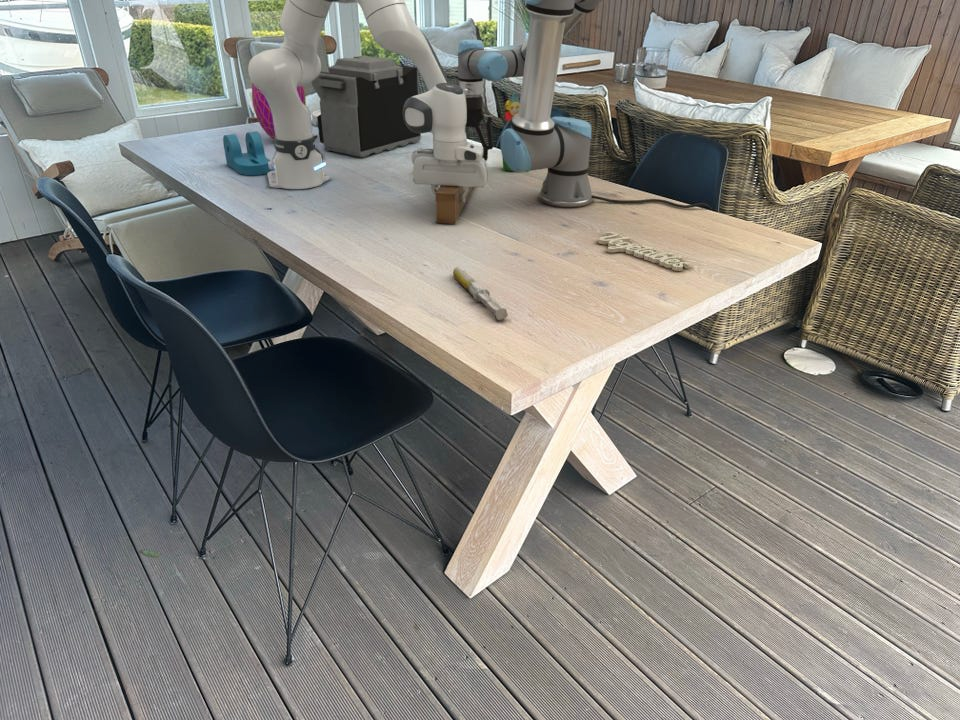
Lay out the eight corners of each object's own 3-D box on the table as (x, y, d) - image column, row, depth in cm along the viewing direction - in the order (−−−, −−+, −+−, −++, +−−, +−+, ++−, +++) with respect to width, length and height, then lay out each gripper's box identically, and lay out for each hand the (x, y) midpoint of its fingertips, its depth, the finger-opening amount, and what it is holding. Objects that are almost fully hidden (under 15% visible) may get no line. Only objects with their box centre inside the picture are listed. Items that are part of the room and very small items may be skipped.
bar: (465, 171, 230) (465, 146, 226) (480, 171, 229) (481, 146, 225) (436, 222, 184) (435, 192, 180) (455, 223, 183) (455, 193, 179)
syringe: (449, 274, 155) (449, 263, 153) (465, 272, 156) (464, 260, 154) (490, 323, 135) (491, 310, 133) (508, 319, 136) (508, 307, 134)
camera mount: (227, 164, 233) (221, 132, 227) (257, 160, 238) (252, 129, 233) (244, 176, 220) (239, 143, 215) (276, 172, 225) (271, 139, 220)
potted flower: (506, 173, 227) (508, 93, 214) (495, 167, 233) (496, 89, 220) (530, 170, 231) (534, 91, 218) (519, 164, 237) (522, 87, 224)
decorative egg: (293, 132, 276) (283, 50, 261) (319, 140, 264) (310, 56, 249) (249, 139, 265) (236, 54, 250) (273, 148, 253) (261, 60, 238)
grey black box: (383, 133, 276) (378, 52, 261) (425, 141, 265) (422, 56, 250) (314, 150, 251) (304, 61, 235) (358, 160, 240) (350, 67, 224)
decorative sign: (584, 239, 172) (609, 230, 178) (583, 243, 172) (609, 234, 178) (672, 271, 155) (697, 260, 161) (671, 275, 156) (696, 264, 161)
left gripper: (408, 151, 179) (410, 202, 186) (486, 154, 177) (485, 206, 184) (413, 145, 185) (415, 195, 192) (489, 148, 183) (488, 199, 190)
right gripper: (435, 96, 208) (437, 171, 220) (502, 98, 206) (500, 174, 218) (440, 92, 215) (441, 165, 226) (504, 94, 213) (502, 168, 224)
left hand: (450, 201), depth 188 cm, fingers closed on bar, 5 cm apart
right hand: (470, 169), depth 222 cm, fingers open, 7 cm apart
